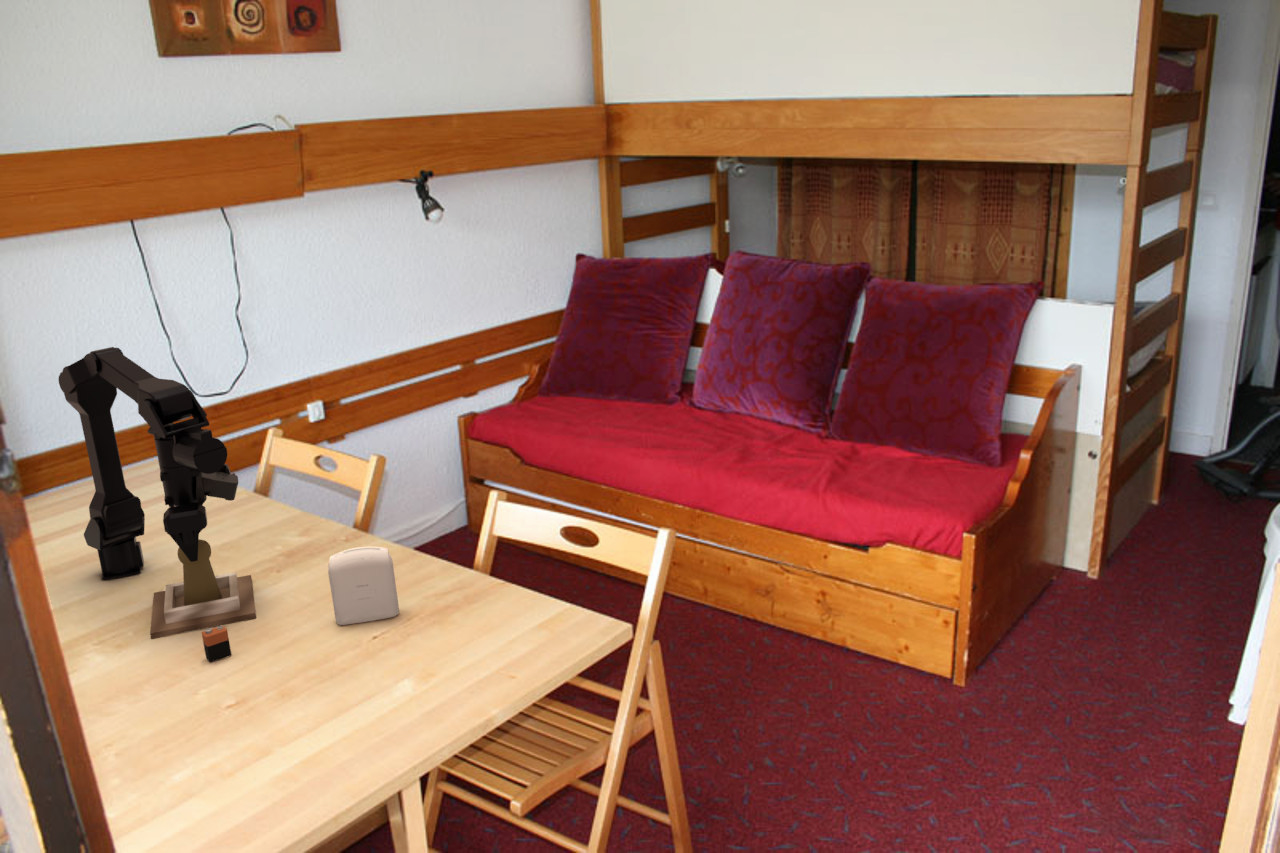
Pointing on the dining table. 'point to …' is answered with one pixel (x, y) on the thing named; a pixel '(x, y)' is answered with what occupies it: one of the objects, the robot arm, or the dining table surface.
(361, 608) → the photo printer
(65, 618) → the dining table surface
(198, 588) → the cork
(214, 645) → the battery
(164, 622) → the socket board
